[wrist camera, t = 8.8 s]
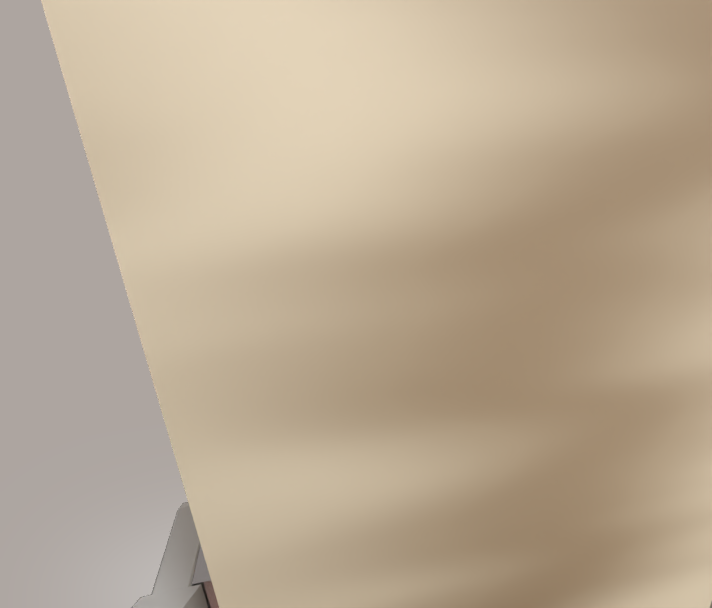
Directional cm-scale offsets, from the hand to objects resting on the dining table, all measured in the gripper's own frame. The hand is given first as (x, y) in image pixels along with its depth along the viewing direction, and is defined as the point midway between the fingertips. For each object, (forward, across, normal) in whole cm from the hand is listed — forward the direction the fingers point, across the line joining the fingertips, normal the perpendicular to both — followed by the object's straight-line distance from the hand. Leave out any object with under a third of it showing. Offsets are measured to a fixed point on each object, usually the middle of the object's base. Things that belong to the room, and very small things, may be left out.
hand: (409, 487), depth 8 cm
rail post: (-1, 0, +10) cm, 10 cm away
